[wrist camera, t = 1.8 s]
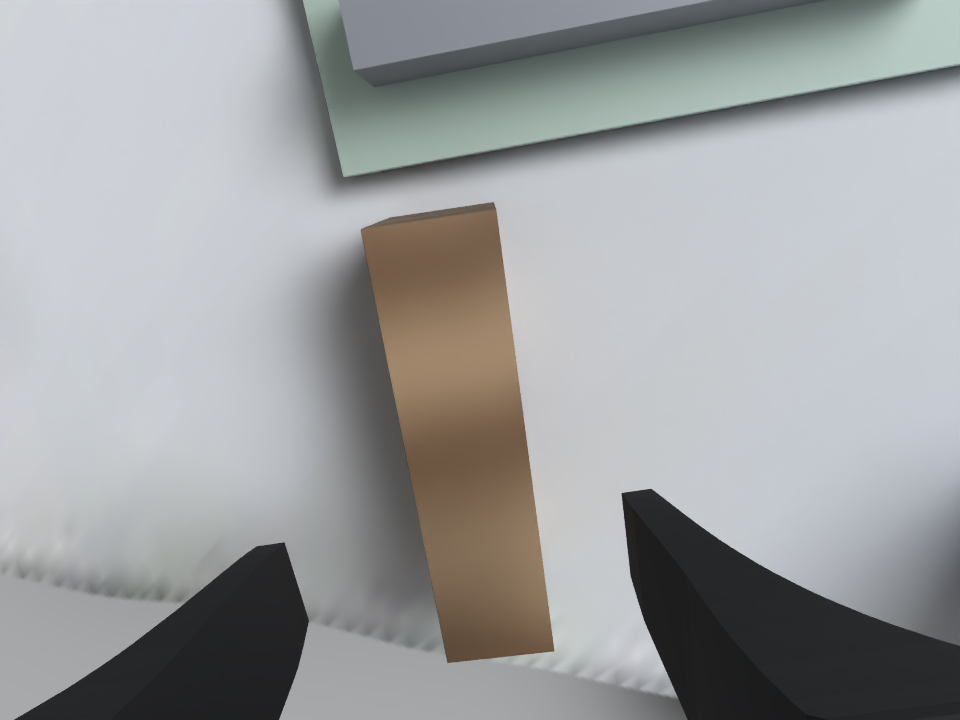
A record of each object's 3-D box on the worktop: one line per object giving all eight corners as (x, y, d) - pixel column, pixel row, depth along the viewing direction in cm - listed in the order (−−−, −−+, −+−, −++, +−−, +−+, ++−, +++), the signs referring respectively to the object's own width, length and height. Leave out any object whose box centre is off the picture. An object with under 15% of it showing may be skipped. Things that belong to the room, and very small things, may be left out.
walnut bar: (540, 555, 24) (554, 650, 19) (455, 565, 24) (447, 662, 19) (493, 201, 20) (495, 209, 15) (391, 217, 20) (360, 229, 15)
